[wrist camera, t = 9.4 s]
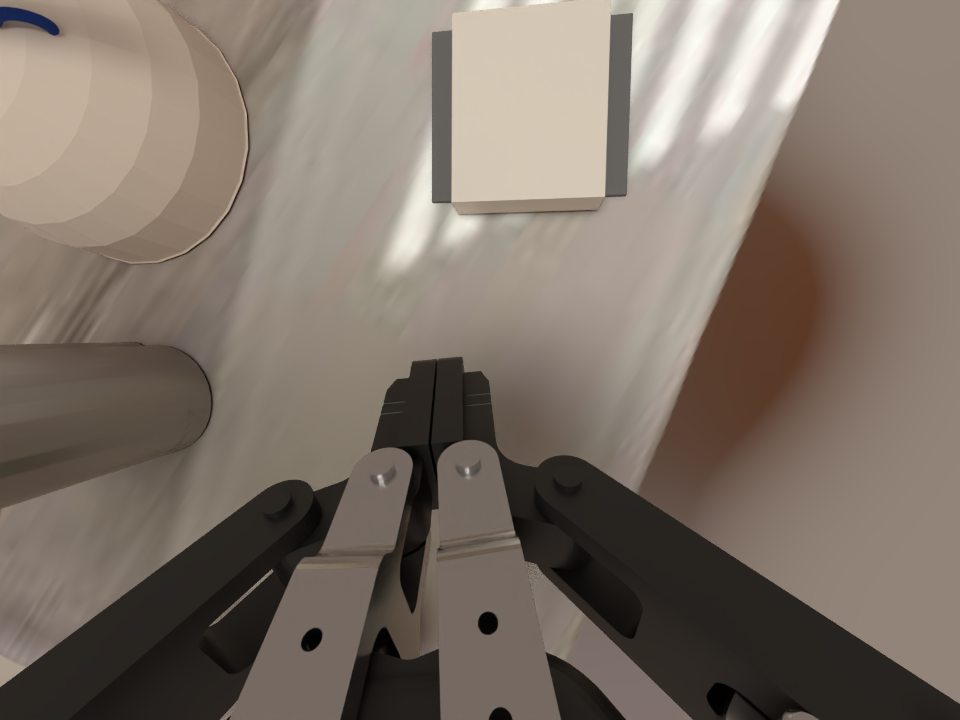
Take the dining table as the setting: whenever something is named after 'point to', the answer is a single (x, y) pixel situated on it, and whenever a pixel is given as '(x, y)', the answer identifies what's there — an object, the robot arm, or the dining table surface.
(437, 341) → the dining table surface
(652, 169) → the dining table surface
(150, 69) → the kettle
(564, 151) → the tile
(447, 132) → the mat
